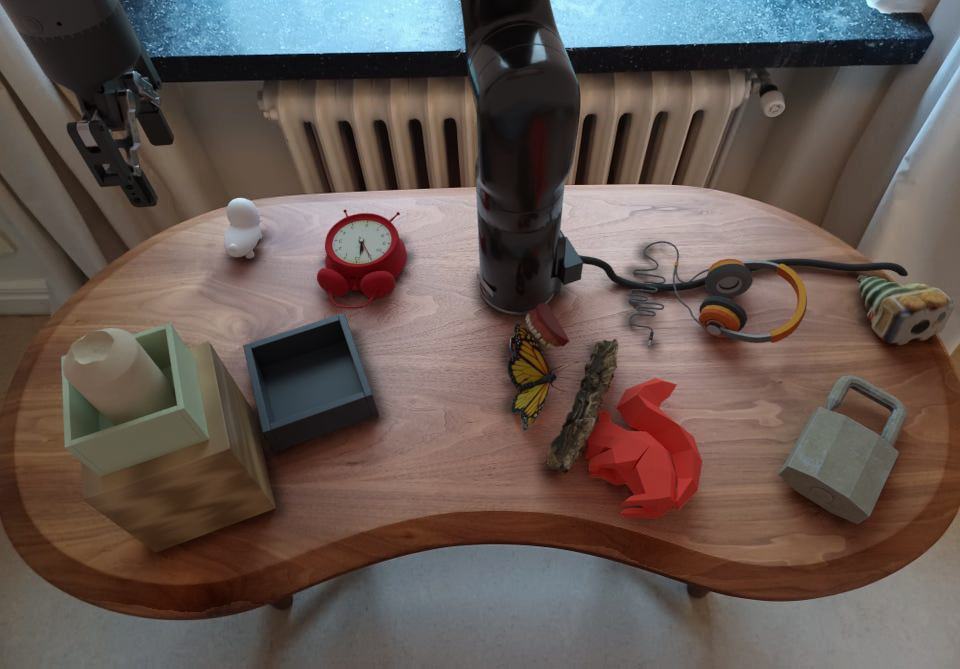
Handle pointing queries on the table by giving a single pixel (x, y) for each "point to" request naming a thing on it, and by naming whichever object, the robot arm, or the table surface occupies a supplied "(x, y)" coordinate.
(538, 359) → the butterfly
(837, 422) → the padlock
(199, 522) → the stand
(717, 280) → the headphones
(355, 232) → the alarm clock
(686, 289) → the robot arm
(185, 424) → the pale bin
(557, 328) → the dentures model
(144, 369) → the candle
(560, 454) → the bark log
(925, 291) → the ornament
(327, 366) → the dark bin
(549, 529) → the table surface
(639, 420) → the animal figurine
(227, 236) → the toy creature
